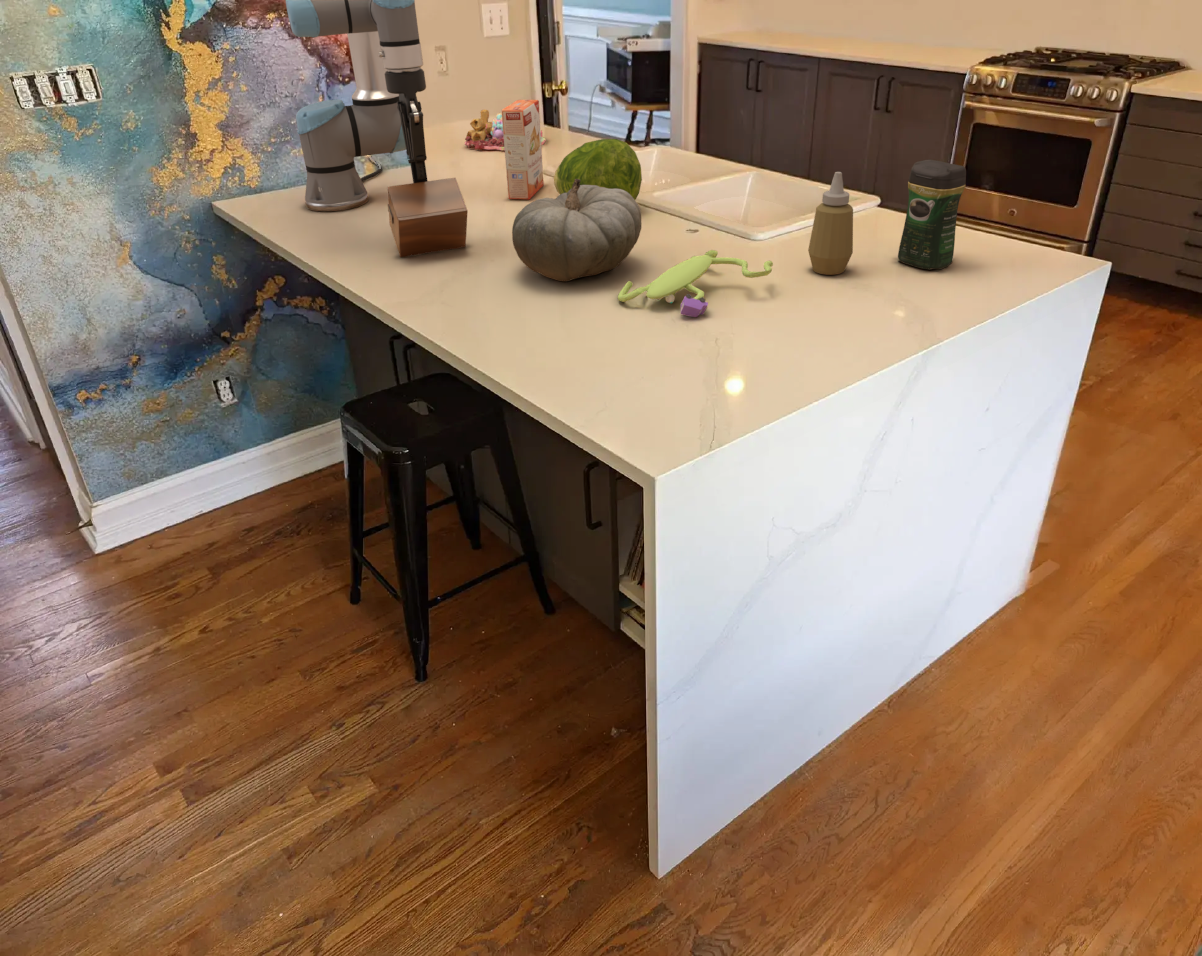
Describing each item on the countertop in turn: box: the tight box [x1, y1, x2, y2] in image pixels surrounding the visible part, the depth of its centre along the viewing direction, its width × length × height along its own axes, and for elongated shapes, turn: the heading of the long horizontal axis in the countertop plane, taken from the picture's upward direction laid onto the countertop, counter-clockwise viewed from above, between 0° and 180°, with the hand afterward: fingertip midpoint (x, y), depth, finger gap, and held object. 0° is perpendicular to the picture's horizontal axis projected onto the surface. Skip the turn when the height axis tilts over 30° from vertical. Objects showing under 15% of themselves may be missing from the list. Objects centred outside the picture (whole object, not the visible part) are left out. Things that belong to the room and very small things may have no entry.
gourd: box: [511, 179, 642, 282], centre depth 169 cm, size 25×25×17 cm
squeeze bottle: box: [807, 171, 854, 276], centre depth 162 cm, size 8×8×18 cm
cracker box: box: [501, 99, 545, 201], centre depth 217 cm, size 14×6×21 cm, turn 168°
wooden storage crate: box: [386, 177, 468, 258], centre depth 183 cm, size 9×14×11 cm
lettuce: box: [553, 138, 643, 201], centre depth 204 cm, size 17×23×16 cm
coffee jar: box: [897, 159, 967, 270], centre depth 163 cm, size 10×8×19 cm
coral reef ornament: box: [464, 109, 546, 151], centre depth 271 cm, size 25×24×9 cm
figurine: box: [617, 249, 774, 318], centre depth 158 cm, size 18×27×6 cm
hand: (422, 194), depth 182 cm, fingers closed
